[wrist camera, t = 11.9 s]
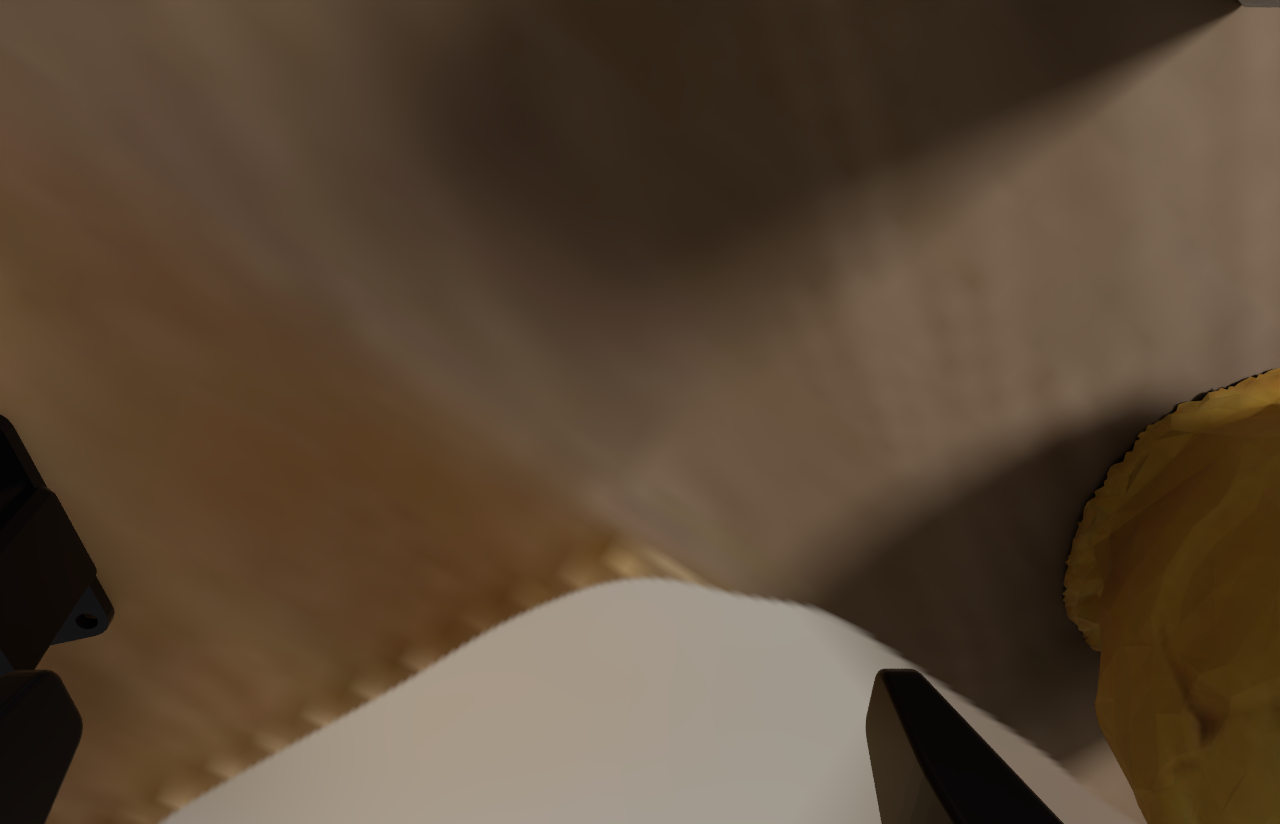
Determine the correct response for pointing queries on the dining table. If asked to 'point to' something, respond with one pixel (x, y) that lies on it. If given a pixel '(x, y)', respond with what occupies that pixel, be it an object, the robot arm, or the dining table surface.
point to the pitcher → (1190, 608)
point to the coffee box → (1260, 3)
